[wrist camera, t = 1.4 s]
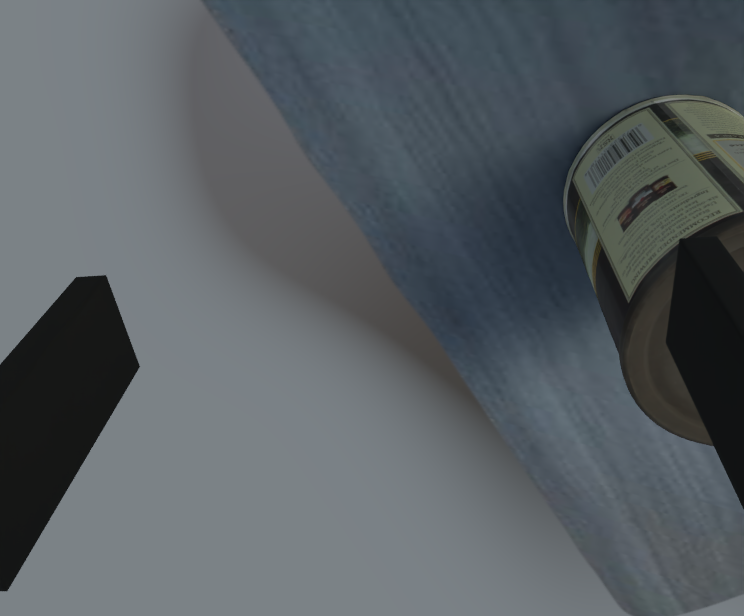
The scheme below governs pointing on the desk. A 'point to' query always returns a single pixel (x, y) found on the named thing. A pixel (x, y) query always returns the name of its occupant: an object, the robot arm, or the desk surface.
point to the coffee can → (655, 230)
